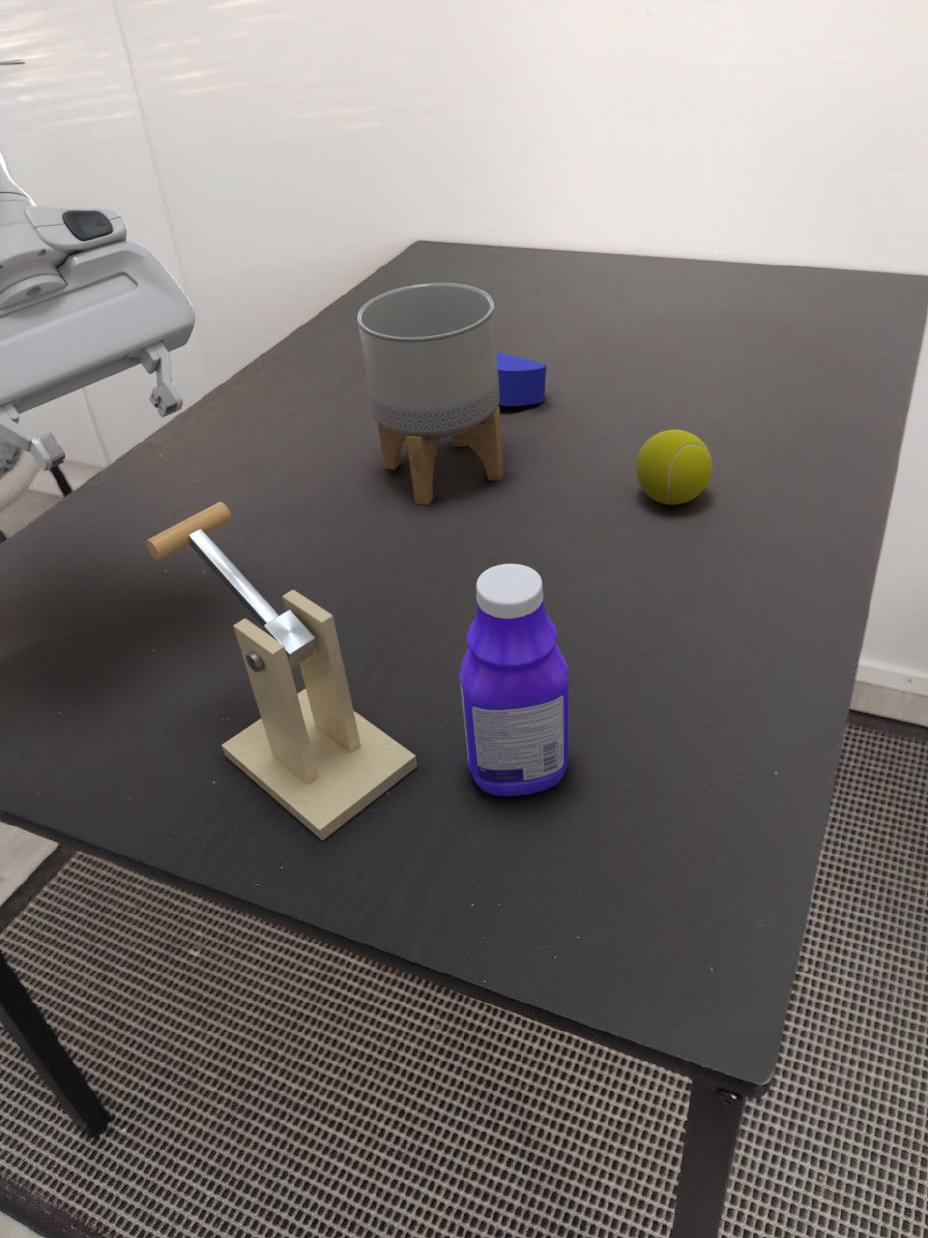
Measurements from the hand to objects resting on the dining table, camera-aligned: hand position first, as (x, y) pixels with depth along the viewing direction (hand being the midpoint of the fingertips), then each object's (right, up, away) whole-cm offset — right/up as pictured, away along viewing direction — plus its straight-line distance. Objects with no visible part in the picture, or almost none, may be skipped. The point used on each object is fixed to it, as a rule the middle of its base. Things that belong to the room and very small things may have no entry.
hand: (116, 436), depth 69 cm
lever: (+9, -11, -1) cm, 15 cm away
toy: (+28, +13, +47) cm, 56 cm away
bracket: (+14, -24, +4) cm, 28 cm away
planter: (+22, +3, +35) cm, 41 cm away
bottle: (+29, -24, +2) cm, 37 cm away
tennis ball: (+45, -1, +27) cm, 53 cm away
